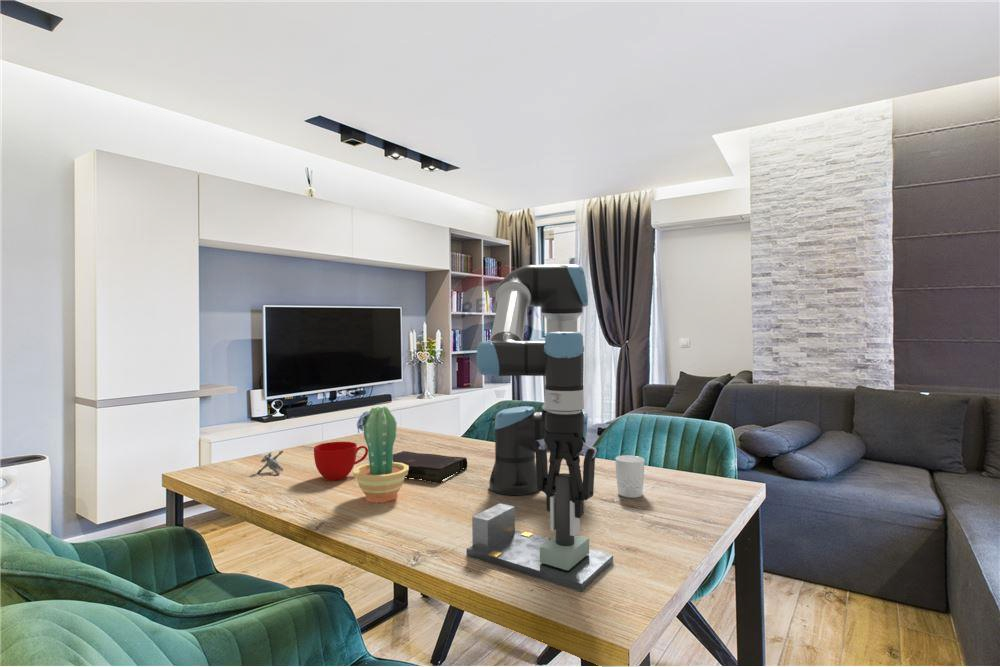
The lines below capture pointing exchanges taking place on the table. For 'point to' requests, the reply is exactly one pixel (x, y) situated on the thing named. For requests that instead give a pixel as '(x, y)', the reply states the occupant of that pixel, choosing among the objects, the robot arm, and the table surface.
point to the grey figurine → (272, 463)
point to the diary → (430, 465)
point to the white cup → (630, 475)
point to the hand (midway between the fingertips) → (564, 530)
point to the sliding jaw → (563, 531)
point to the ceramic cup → (336, 459)
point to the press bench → (527, 550)
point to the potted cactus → (380, 457)
